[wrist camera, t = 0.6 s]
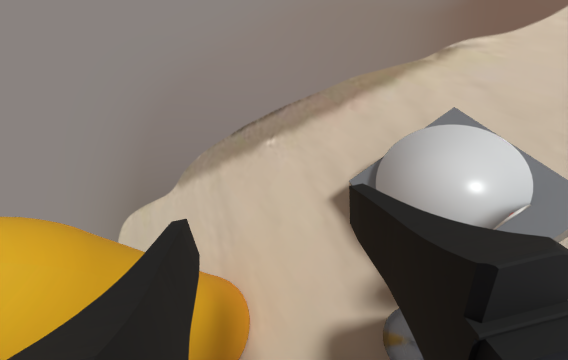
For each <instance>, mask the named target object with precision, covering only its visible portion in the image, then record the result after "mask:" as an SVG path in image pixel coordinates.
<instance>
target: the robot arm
mask: <svg viewBox="0 0 568 360" xmlns="http://www.w3.org/2000/svg"><path fill="white" fill-rule="evenodd" d="M349 190H350V224H351V226H352V228H353V230H354V232H355V235H356V237H357V239H358V241H359V242H360V244H361V246H362V247H363V249H364V250H365V252H366V253H367V255H368V256H369V258H370V259H371V261H372V262H373V264H374V265H375V267H376V268H377V270H378V271H379V273H380V275H381V276H382V278H383V279H384V281H385V282H386V284H387V286H388V287H389V289H390V291H391V293H392V295H393V297H394V299H395V300H396V302H397V304H398V306H399V308H400V310H401V312H402V314H403V316H404V318H405V320H406V322H407V324H408V327H409V329H410V331H411V333H412V335H413V337H414V339H415V341H416V344H417V346H418V348H419V350H420V352H421V354H422V357H423V359H424V360H568V249H567V248H565V247H564V246H562V245H561V244H559V243H558V242H556V241H555V240H553V239H552V238H550V237H545V236H536V235H528V234H520V233H512V232H505V231H500V230H494V229H488V228H483V227H479V226H474V225H470V224H466V223H462V222H458V221H454V220H450V219H447V218H444V217H441V216H438V215H435V214H431V213H429V212H426V211H423V210H421V209H418V208H416V207H413V206H411V205H408V204H406V203H404V202H401V201H399V200H397V199H395V198H393V197H391V196H388V195H386V194H384V193H382V192H380V191H378V190H376V189H374V188H372V187H370V186H368V185H365V184H363V183H362V184H357V185H352V186H349ZM198 280H199V252H198V249H197V247H196V244H195V241H194V238H193V235H192V233H191V230H190V227H189V224H188V221H187V219H183V220H178V221H173V222H171V223H170V224H169V225H168V227H167V228H166V229H165V230H164V231H163V232H162V234H161V235H160V236H159V237H158V238H157V240H156V241H155V242H154V243H153V244H152V245H151V246H150V248H149V249H148V250H147V251H146V252H145V253H144V254H143V255H142V257H141V258H140V259H139V260H138V261H137V262H136V263H135V264H134V265H133V266H132V267H131V268H130V269H129V270H128V271H127V272H126V273H125V274H124V275H123V276H122V277H121V278H120V279H119V280H118V281H117V282H116V283H114V284H113V285H112V286H111V287H110V288H109V289H108V290H107V291H105V292H104V293H103V294H102V295H101V296H99V297H98V298H97V299H96V300H94V301H93V302H92V303H90V304H89V305H88V306H87V307H85V308H84V309H83V310H82V311H80V312H79V313H78V314H76V315H75V316H74V317H72V318H71V319H69V320H68V321H66V322H65V323H64V324H62V325H61V326H59V327H58V328H56V329H55V330H53V331H52V332H50V333H49V334H47V335H46V336H44V337H43V338H41V339H40V340H38V341H37V342H35V343H33V344H32V345H30V346H28V347H27V348H25V349H23V350H22V351H20V352H18V353H17V354H15V355H14V356H12V357H10V358H9V359H7V360H189V342H190V331H191V324H192V317H193V311H194V305H195V299H196V293H197V287H198Z"/></svg>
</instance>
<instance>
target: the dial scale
mask: <svg viewBox="0 0 568 360" xmlns="http://www.w3.org/2000/svg"><path fill="white" fill-rule="evenodd" d="M349 182H350V184H351V186H352V185H357V184H362V183H363V184H365V185H368V186H370V187H372V188H374V189H376V190H378V191H380V192H382V193H384V194H386V195H388V196H391V197H393V198H395V199H397V200H399V201H401V202H404V203H406V204H408V205H411V206H413V207H416V208H418V209H421V210H423V211H426V212H429V213H431V214H435V215H438V216H441V217H444V218H447V219H450V220H454V221H458V222H462V223H466V224H470V225H474V226H479V227H483V228H488V229H494V230H500V231H505V232H512V233H520V234H528V235H536V236H545V237H550V238H552V239H553V240H555V241H556V242H558V243H559V242H560V241H562V240H563V239H565V238H566V237H568V180H567V179H565V178H563V177H562V176H560V175H559V174H557V173H556V172H554V171H553V170H551V169H550V168H548V167H546V166H545V165H543V164H542V163H540V162H539V161H537V160H536V159H534V158H532V157H531V156H529V155H528V154H526V153H525V152H523V151H522V150H520V149H518V148H517V147H515V146H514V145H512V144H511V143H509V142H508V141H506V140H505V139H503V138H501V137H500V136H498V135H497V134H495V133H494V132H492V131H491V130H489V129H487V128H486V127H484V126H483V125H481V124H480V123H478V122H477V121H475V120H474V119H472V118H470V117H469V116H467V115H466V114H464V113H463V112H461V111H460V110H458V109H456V108H455V107H454V108H453V109H451V110H450V111H448V112H447V113H445V114H444V115H443V116H441V117H440V118H438V119H437V120H435V121H434V122H433V123H431V124H430V125H428V126H427V127H425V128H424V129H421V130H418V131H416V132H413V133H411V134H409V135H407V136H406V137H404V138H402V139H401V140H399V141H398V142H397V143H396V144H394V145H393V146H392V147H391V148H390V149H389V150H388V152H387V153H386V154H385V156H384V157H383V158H381V159H380V160H378V161H377V162H375V163H374V164H373V165H371V166H370V167H368V168H367V169H365V170H364V171H363V172H361V173H360V174H358V175H357V176H355V177H354V178H353V179H351V180H350V181H349Z"/></svg>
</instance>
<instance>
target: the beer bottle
mask: <svg viewBox="0 0 568 360" xmlns="http://www.w3.org/2000/svg"><path fill="white" fill-rule="evenodd" d="M144 253H145V252H143V251H140V250H137V249H134V248H131V247H128V246H126V245H123V244H120V243H117V242H114V241H111V240H108V239H105V238H102V237H99V236H97V235H94V234H91V233H88V232H86V231H83V230H81V229H78V228H75V227H72V226H69V225H65V224H61V223H56V222H51V221H46V220H39V219H31V218H22V217H0V360H7V359H9V358H10V357H12V356H14V355H15V354H17V353H18V352H20V351H22V350H23V349H25V348H27V347H28V346H30V345H32V344H33V343H35V342H37V341H38V340H40V339H41V338H43V337H44V336H46V335H47V334H49V333H50V332H52V331H53V330H55V329H56V328H58V327H59V326H61V325H62V324H64V323H65V322H66V321H68V320H69V319H71V318H72V317H74V316H75V315H76V314H78V313H79V312H80V311H82V310H83V309H84V308H85V307H87V306H88V305H89V304H90V303H92V302H93V301H94V300H96V299H97V298H98V297H99V296H101V295H102V294H103V293H104V292H105V291H107V290H108V289H109V288H110V287H111V286H112V285H113V284H114V283H116V282H117V281H118V280H119V279H120V278H121V277H122V276H123V275H124V274H125V273H126V272H127V271H128V270H129V269H130V268H131V267H132V266H133V265H134V264H135V263H136V262H137V261H138V260H139V259H140V258H141V257H142V255H143V254H144ZM249 325H250V318H249V310H248V307H247V303H246V301H245V299H244V297H243V295H242V293H241V292H240V291H239V289H238V288H237V287H235V286H234V285H233V284H232V283H231V282H229V281H227V280H225V279H223V278H221V277H218V276H214V275H210V274H207V273H204V272H201V271H199V280H198V287H197V293H196V299H195V305H194V311H193V317H192V324H191V331H190V342H189V360H238V359H239V358H240V356H241V354H242V352H243V350H244V348H245V345H246V342H247V339H248V334H249Z"/></svg>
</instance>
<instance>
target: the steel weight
mask: <svg viewBox="0 0 568 360" xmlns="http://www.w3.org/2000/svg"><path fill="white" fill-rule="evenodd" d="M383 341H384V346H385V349H386V351H387V354H388V356H389V357H390V359H391V360H424V359H423V357H422V354H421V352H420V350H419V348H418V346H417V344H416V341H415V339H414V337H413V335H412V333H411V331H410V329H409V327H408V324H407V322H406V320H405V318H404V316H403V314H402V312H401V310H400V308H399V309H397V310H395V311H394V312H393V313H392V314H391V315H390V316H389V317H388V319H387V321H386V323H385V326H384V330H383Z"/></svg>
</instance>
